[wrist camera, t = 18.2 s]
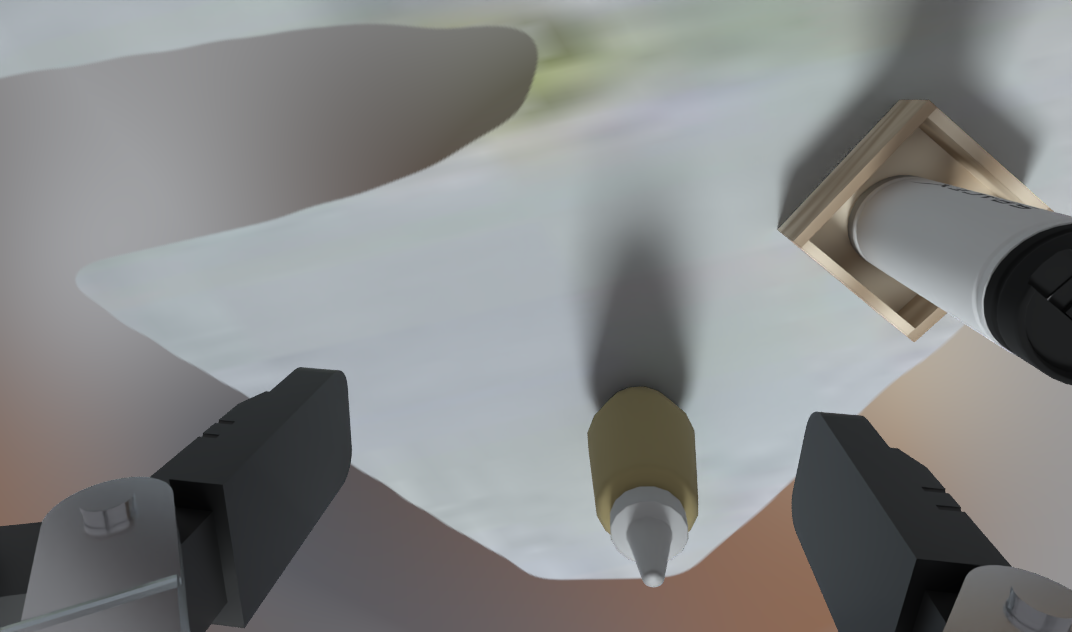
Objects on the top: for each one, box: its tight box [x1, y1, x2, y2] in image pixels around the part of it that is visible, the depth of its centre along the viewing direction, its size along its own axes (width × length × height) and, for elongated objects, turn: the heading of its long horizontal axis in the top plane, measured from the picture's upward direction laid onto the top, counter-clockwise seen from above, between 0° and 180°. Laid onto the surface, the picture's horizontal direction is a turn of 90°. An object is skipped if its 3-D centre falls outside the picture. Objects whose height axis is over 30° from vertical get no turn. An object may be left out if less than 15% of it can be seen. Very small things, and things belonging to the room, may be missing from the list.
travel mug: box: [848, 175, 1072, 385], centre depth 33 cm, size 6×7×20 cm
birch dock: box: [778, 100, 1054, 342], centre depth 42 cm, size 11×11×4 cm
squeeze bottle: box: [587, 386, 698, 587], centre depth 42 cm, size 8×8×18 cm
